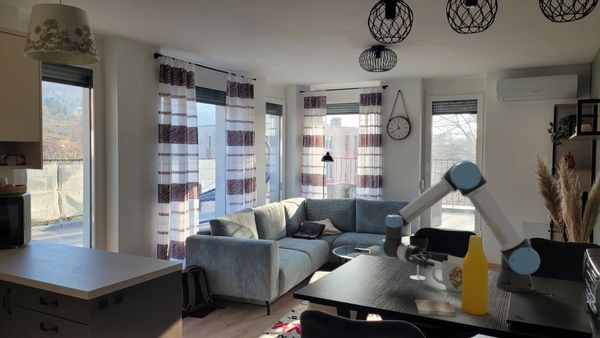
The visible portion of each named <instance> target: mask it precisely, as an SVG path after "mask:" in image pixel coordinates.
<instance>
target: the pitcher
mask: <svg viewBox="0 0 600 338" xmlns="http://www.w3.org/2000/svg"><path fill="white" fill-rule="evenodd" d="M462 258H463V261H464V258H465V257H462ZM442 263H443V270H441V278H442V280H440V279H439V278H437V277H436V273H435V272H436V268H432V267H431V275H432V279H433V280H434V281H435V282H436V283H439V284H442V285H444V287H445V288H446V290H448V291H451V292H462V276H463V265H459V264H455V263H451V262H448V261H442Z"/></svg>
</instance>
